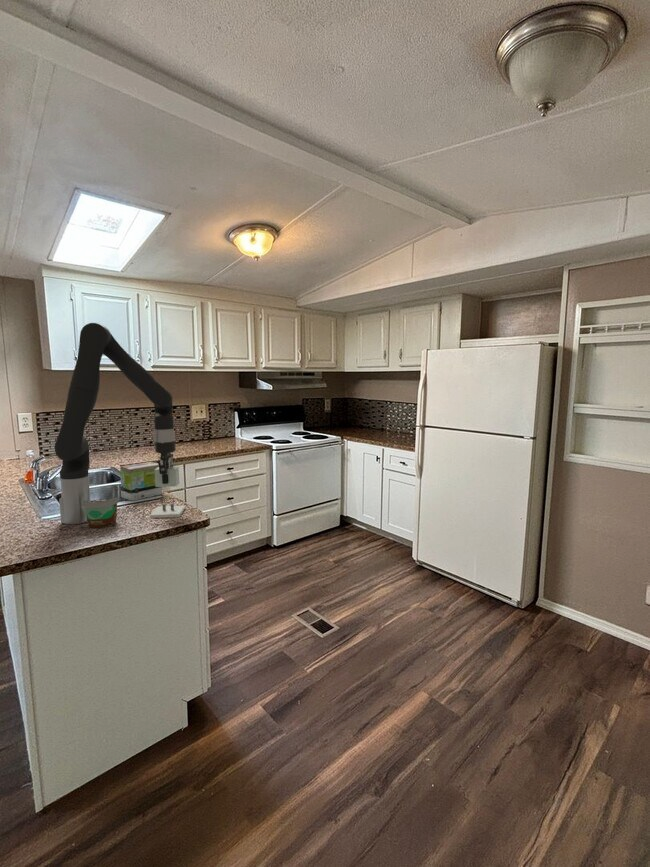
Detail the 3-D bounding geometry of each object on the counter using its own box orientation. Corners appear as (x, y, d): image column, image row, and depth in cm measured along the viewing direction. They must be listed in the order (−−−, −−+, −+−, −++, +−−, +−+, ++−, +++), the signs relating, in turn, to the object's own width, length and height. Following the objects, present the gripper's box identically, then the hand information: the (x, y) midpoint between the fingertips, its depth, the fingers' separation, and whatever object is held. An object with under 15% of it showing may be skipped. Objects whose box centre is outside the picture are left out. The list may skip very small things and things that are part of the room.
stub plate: (150, 517, 161) (149, 508, 160) (158, 509, 172) (157, 500, 171) (179, 517, 162) (178, 508, 162) (185, 508, 173) (185, 499, 172)
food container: (79, 530, 147) (77, 503, 146) (84, 524, 153) (82, 498, 152) (116, 527, 150) (115, 501, 149) (120, 521, 156) (118, 496, 155)
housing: (155, 486, 162) (154, 469, 161) (159, 483, 167) (158, 466, 166) (176, 486, 163) (175, 469, 162) (179, 483, 168) (178, 466, 167)
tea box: (132, 501, 181) (130, 469, 179) (121, 497, 187) (119, 466, 185) (163, 494, 193) (162, 463, 191) (151, 490, 199) (150, 460, 197)
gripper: (160, 437, 169) (162, 477, 172) (149, 443, 155) (152, 486, 158) (178, 437, 170) (181, 477, 173) (170, 442, 156) (172, 486, 158)
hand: (167, 481), depth 165 cm, fingers closed on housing, 5 cm apart
